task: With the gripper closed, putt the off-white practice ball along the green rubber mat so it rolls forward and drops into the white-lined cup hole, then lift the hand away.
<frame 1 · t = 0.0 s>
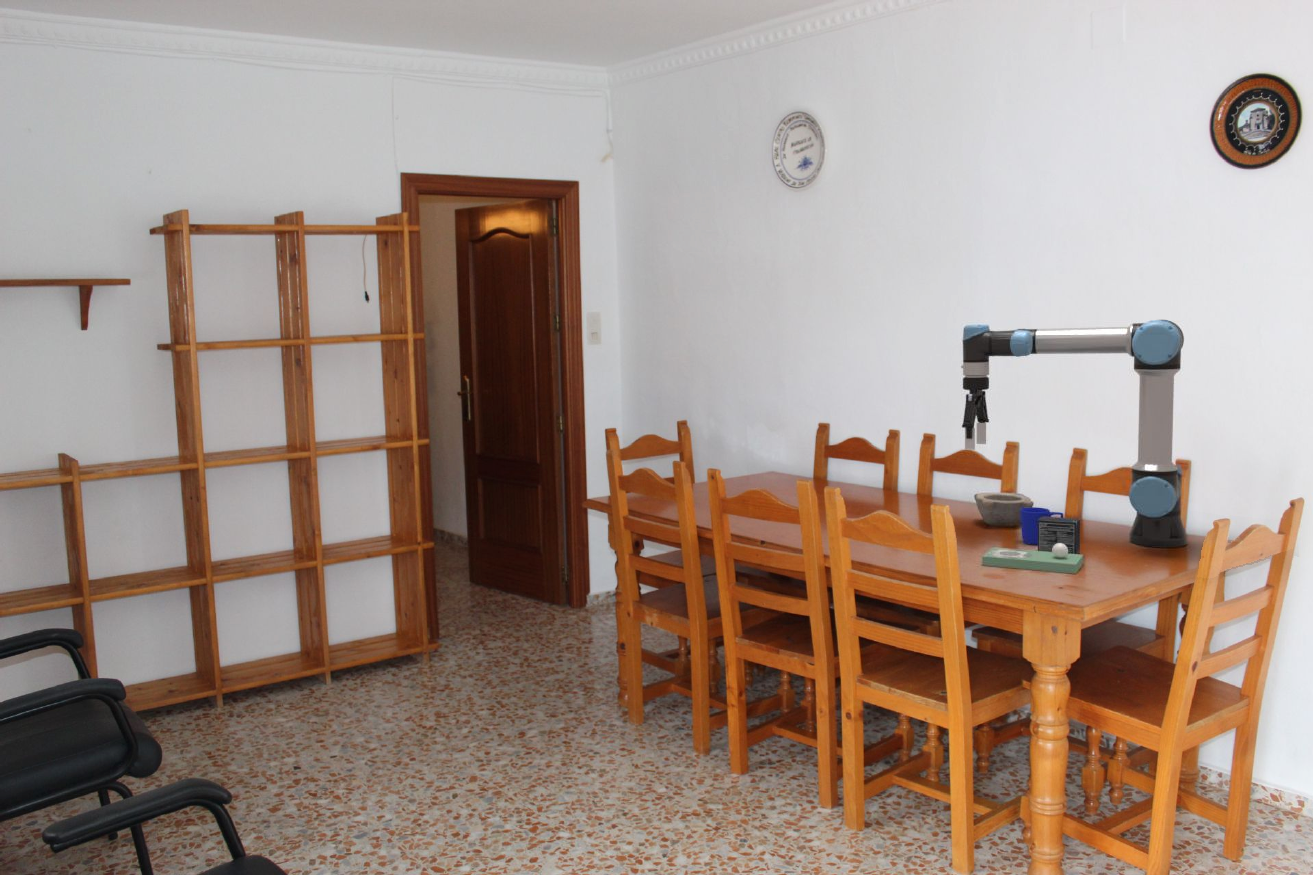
hand: (975, 446, 317), 28 cm above the table, fingers open, 13 cm apart
small box: (1058, 556, 295), on the table
mug: (1041, 543, 311), on the table
ball: (1060, 550, 282), point 4 cm above the table, touching green
green: (1032, 564, 286), on the table
mortar: (1003, 524, 339), on the table
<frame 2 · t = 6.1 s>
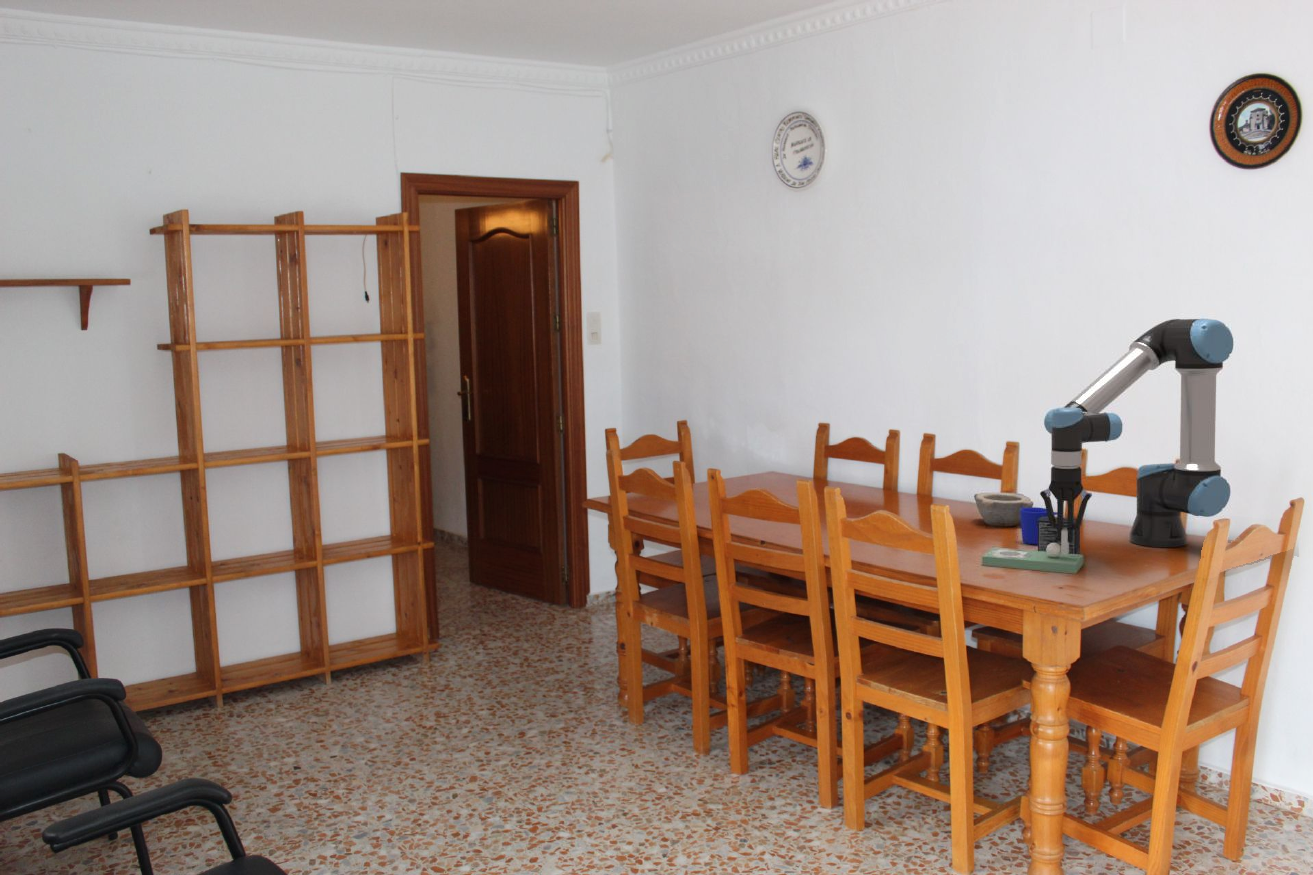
hand: (1064, 553, 281), 4 cm above the table, fingers closed
ball: (1054, 550, 282), point 4 cm above the table, tilted 40°, touching green
everything else where it was.
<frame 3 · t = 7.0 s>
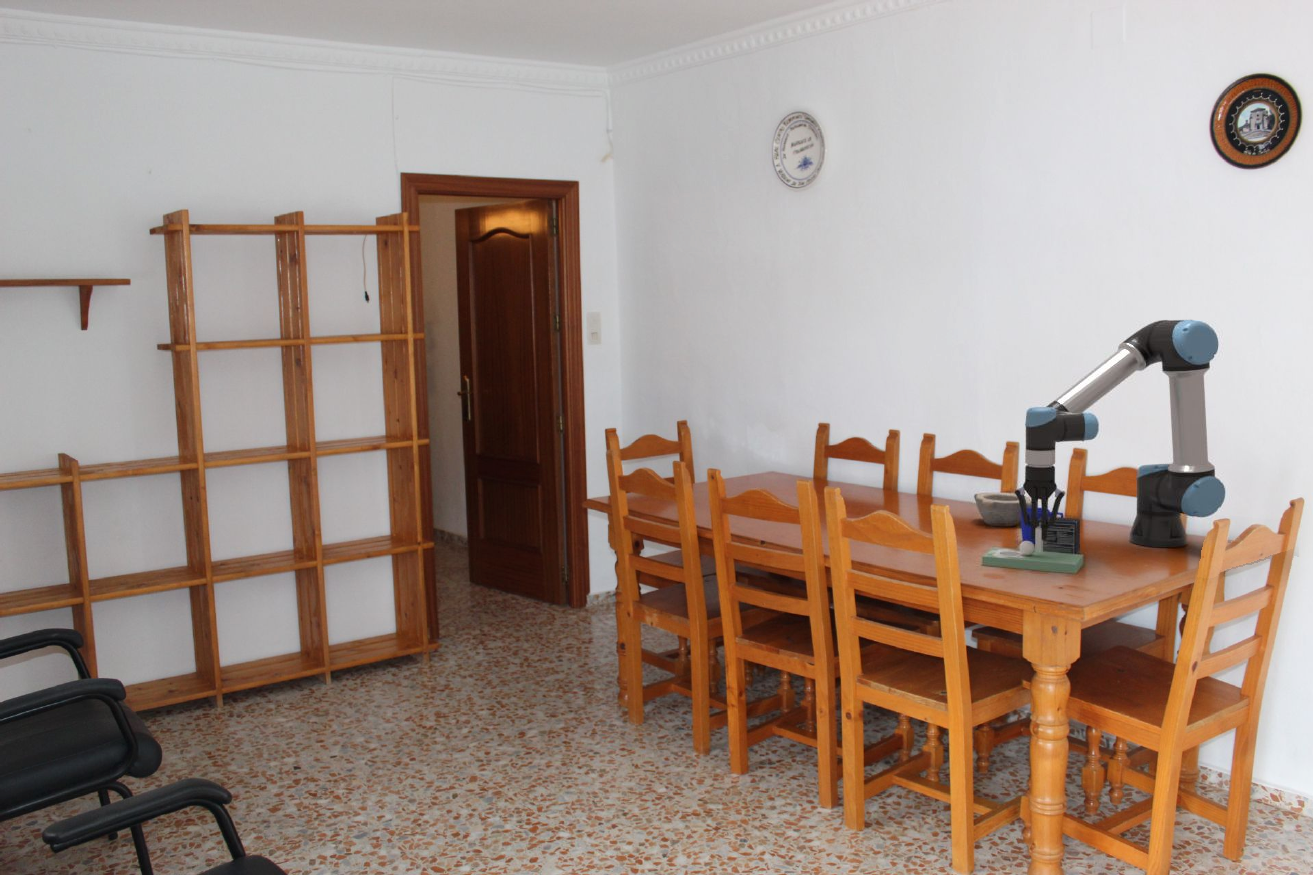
hand: (1039, 551, 284), 4 cm above the table, fingers closed
ball: (1027, 548, 286), point 4 cm above the table, tilted 121°, touching green
everything else where it was.
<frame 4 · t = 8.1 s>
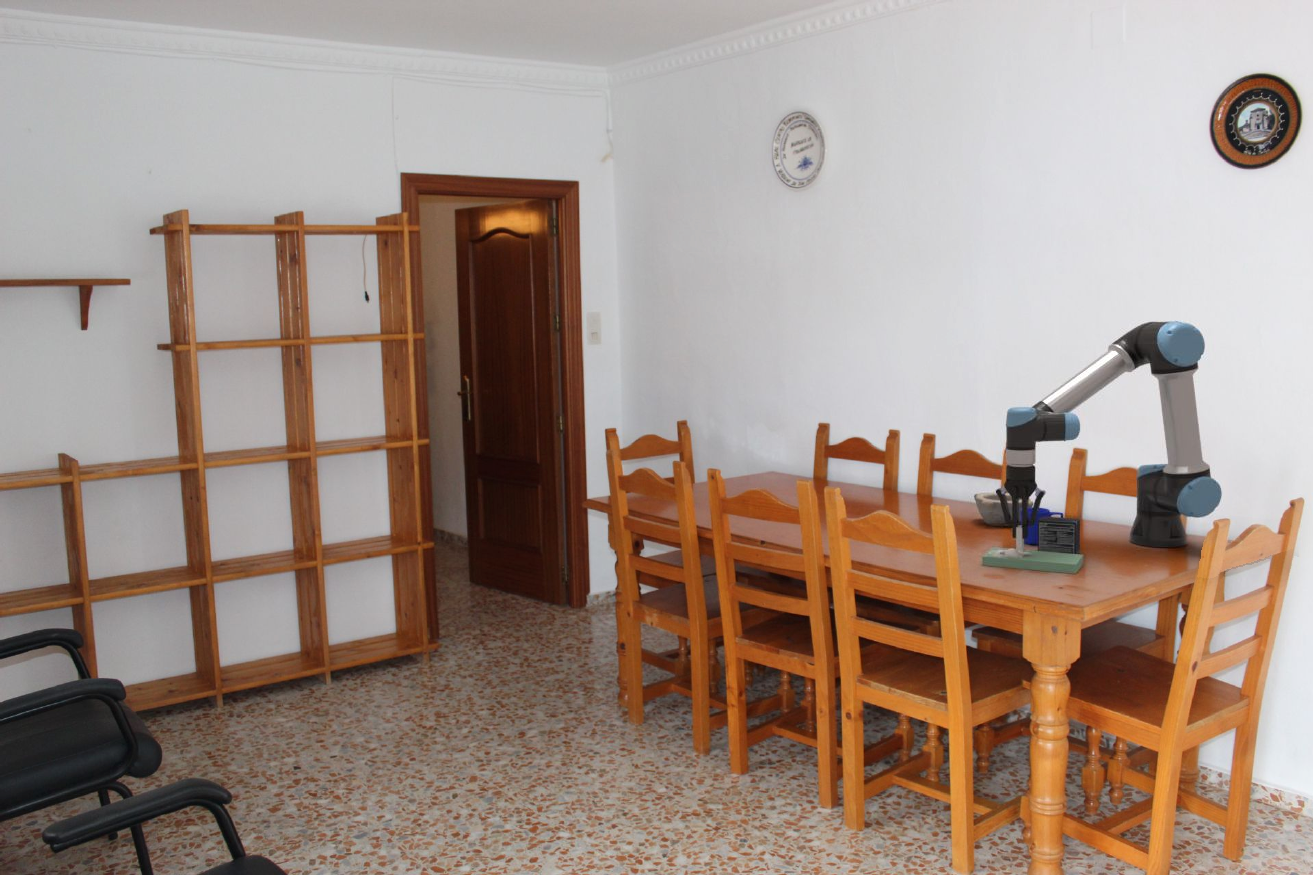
hand: (1019, 549, 287), 4 cm above the table, fingers closed
ball: (1012, 555, 288), point 2 cm above the table, tilted 28°, touching gripper
everything else where it was.
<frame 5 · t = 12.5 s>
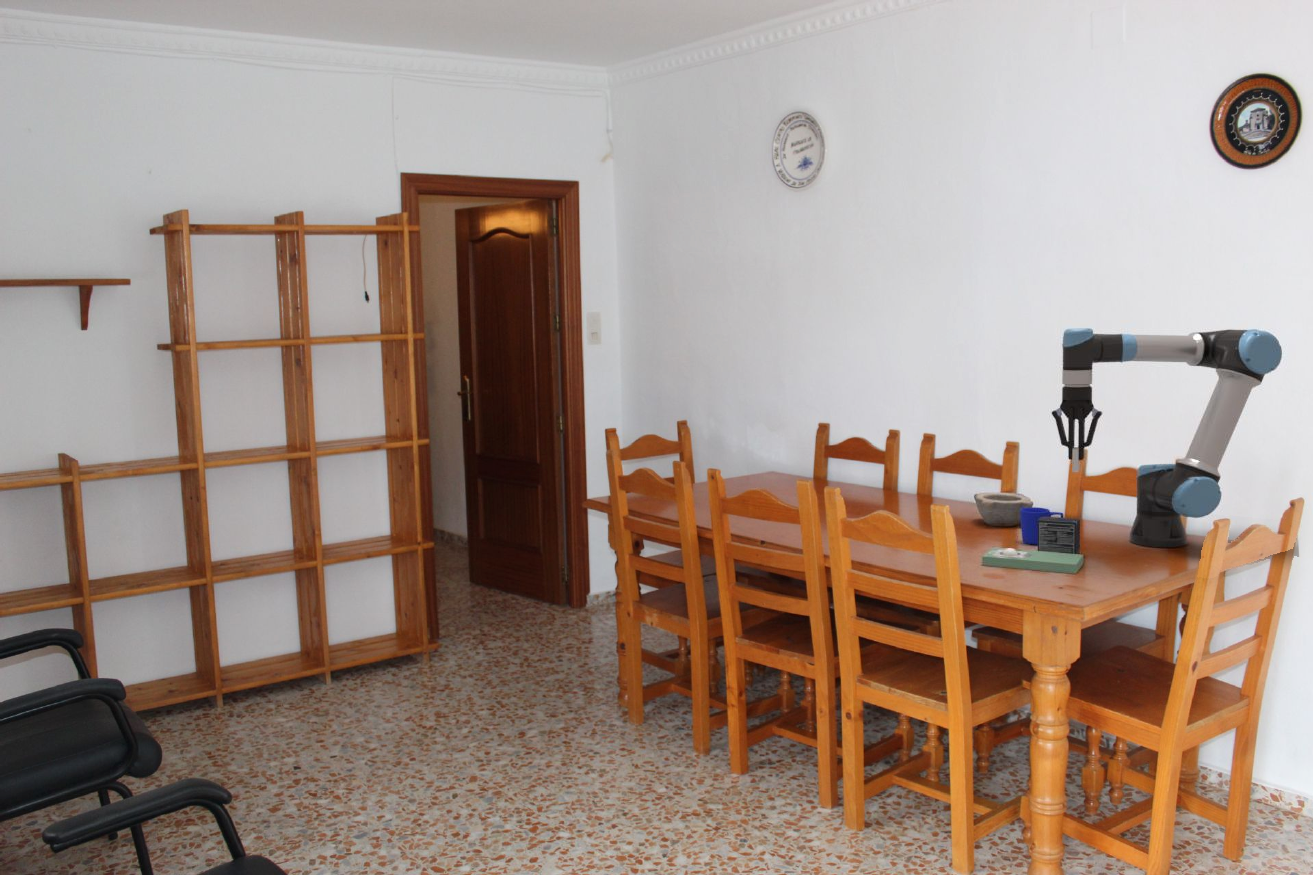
hand: (1075, 471, 288), 24 cm above the table, fingers closed
ball: (1010, 555, 289), point 2 cm above the table, tilted 37°
everything else where it was.
at the end: ball 0.2 cm from the target spot in the green, point 2.0 cm above the green's base; ball touching table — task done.
